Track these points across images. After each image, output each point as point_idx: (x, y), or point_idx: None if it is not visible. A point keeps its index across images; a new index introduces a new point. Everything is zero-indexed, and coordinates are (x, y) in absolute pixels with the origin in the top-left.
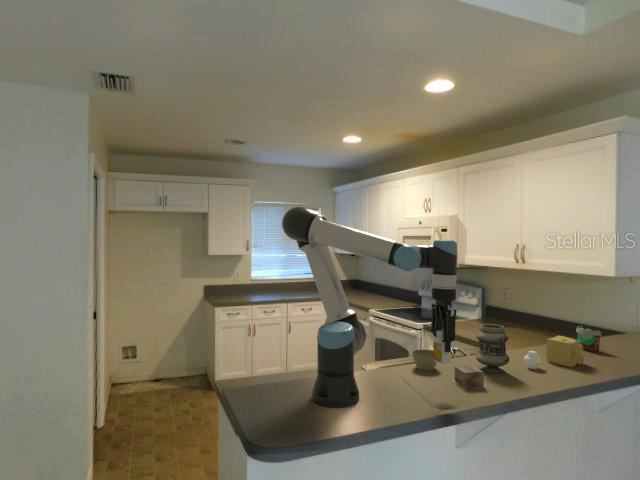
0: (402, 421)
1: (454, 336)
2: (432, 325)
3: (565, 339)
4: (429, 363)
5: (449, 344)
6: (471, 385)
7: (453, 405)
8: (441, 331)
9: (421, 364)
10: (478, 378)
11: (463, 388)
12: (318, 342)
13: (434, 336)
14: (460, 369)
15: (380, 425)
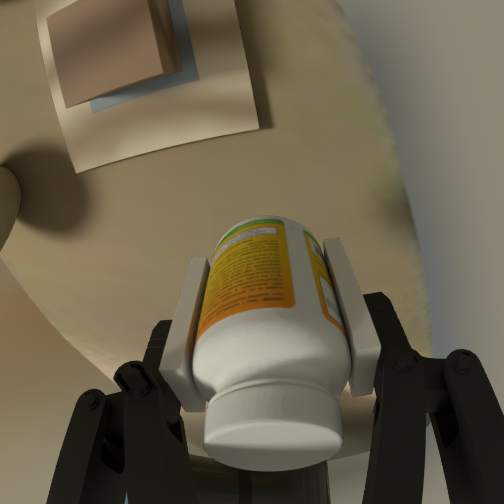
0: (424, 316)
1: (487, 387)
2: (124, 482)
3: None
4: (6, 197)
5: (405, 346)
6: (173, 37)
7: (354, 162)
8: (262, 455)
9: (13, 222)
10: (158, 2)
11: (198, 77)
12: None
13: (185, 410)
14: (110, 84)
15: (425, 349)
